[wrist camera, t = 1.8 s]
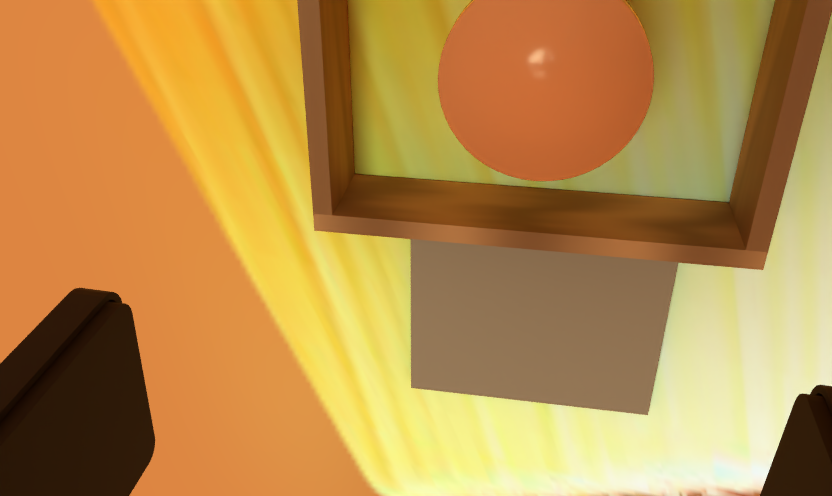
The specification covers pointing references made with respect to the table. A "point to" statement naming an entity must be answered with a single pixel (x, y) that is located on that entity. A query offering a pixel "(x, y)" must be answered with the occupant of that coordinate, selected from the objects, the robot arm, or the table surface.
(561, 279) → the mat
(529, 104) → the terracotta pot
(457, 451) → the table surface
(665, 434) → the table surface
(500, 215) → the frame
